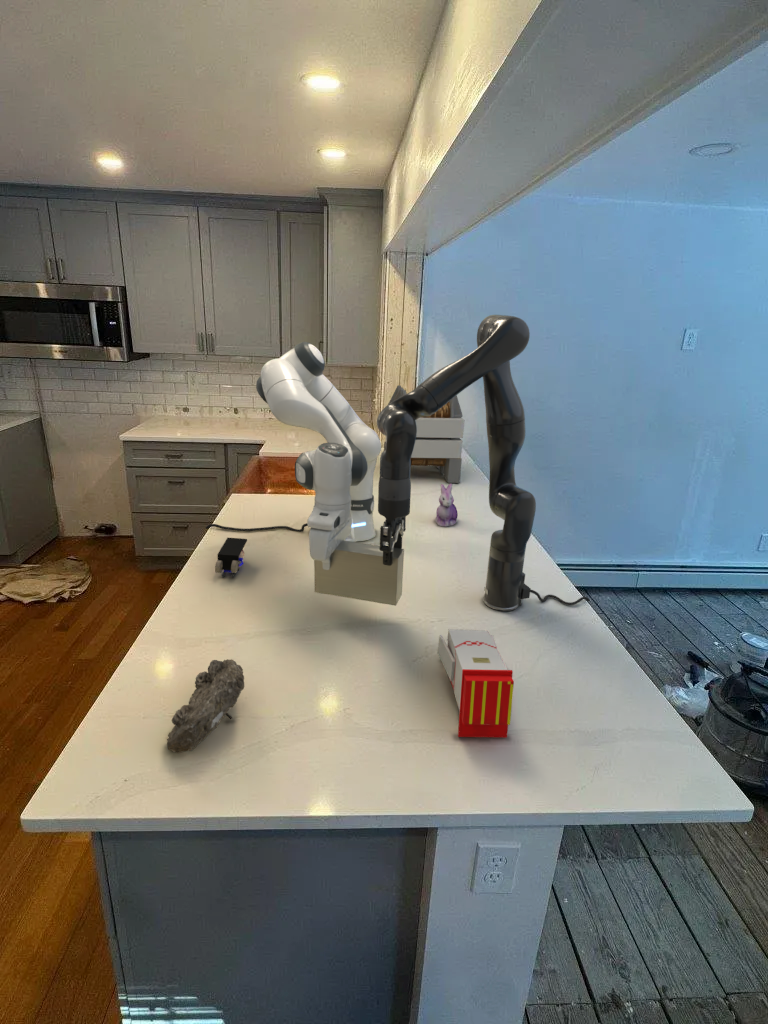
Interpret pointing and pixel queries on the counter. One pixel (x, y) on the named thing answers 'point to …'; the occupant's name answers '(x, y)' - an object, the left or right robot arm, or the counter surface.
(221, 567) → the toy car
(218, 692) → the fossil
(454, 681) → the toy
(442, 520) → the figurine
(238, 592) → the counter surface
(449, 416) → the transformer
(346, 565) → the box
